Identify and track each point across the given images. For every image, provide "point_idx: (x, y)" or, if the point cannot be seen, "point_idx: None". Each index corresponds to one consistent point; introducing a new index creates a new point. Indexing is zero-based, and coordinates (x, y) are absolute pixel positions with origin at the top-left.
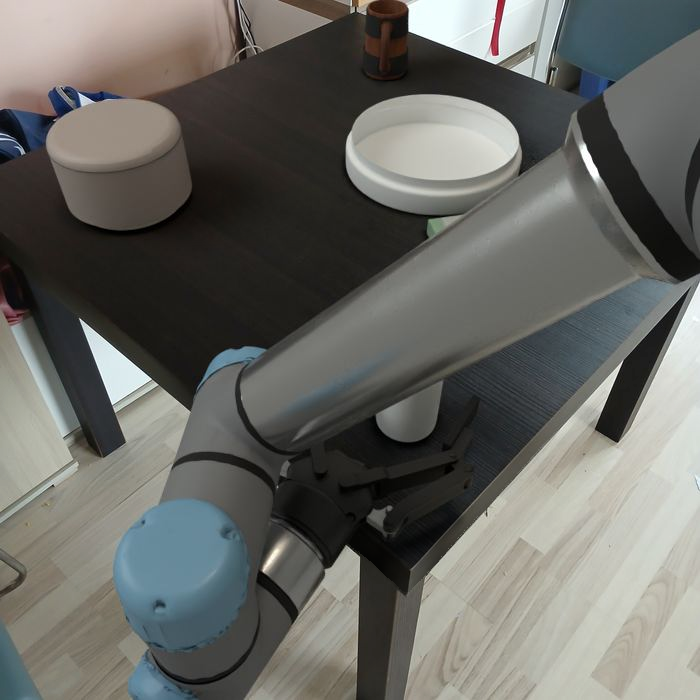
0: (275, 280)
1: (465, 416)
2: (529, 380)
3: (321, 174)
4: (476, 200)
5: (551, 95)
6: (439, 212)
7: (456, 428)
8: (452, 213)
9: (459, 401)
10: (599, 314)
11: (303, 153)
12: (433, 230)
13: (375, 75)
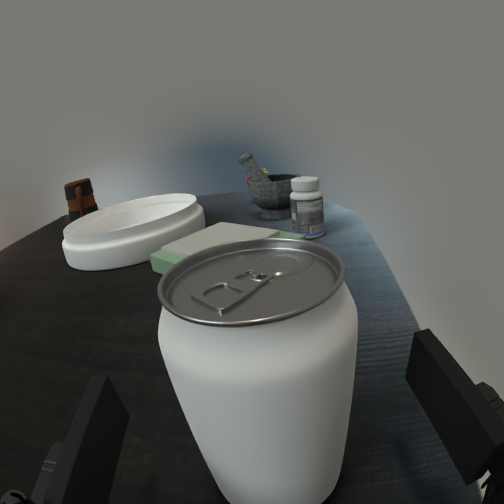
0: (11, 363)
1: (456, 370)
2: (368, 323)
3: (48, 274)
4: (183, 234)
5: None
6: None
7: (477, 400)
8: None
9: None
10: (350, 253)
11: (34, 269)
12: (158, 258)
13: None
